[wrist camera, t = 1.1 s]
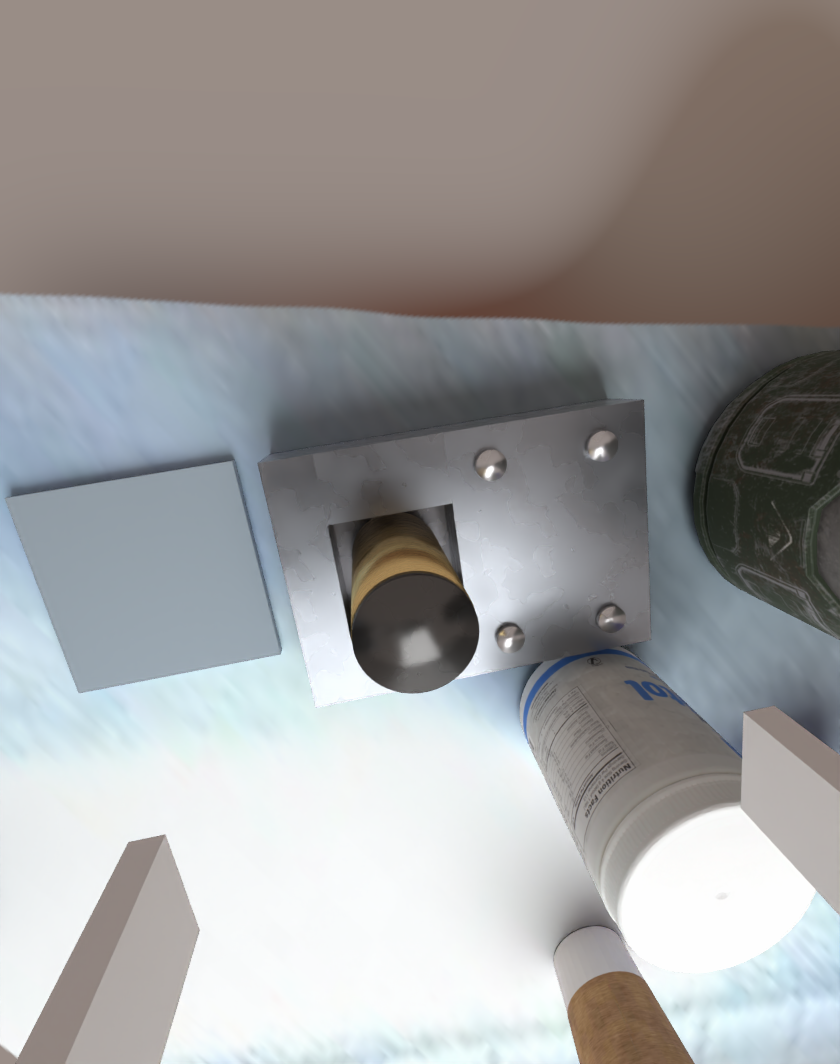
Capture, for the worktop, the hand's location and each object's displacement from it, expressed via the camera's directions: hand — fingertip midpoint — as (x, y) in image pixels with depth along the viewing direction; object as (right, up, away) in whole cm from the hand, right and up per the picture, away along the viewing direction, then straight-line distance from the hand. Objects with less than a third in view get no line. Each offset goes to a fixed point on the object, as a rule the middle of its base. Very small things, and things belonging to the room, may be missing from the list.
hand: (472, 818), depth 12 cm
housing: (+1, +6, +20) cm, 21 cm away
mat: (-17, +4, +19) cm, 25 cm away
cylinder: (-3, +5, +19) cm, 20 cm away
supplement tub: (+10, -5, +25) cm, 27 cm away
